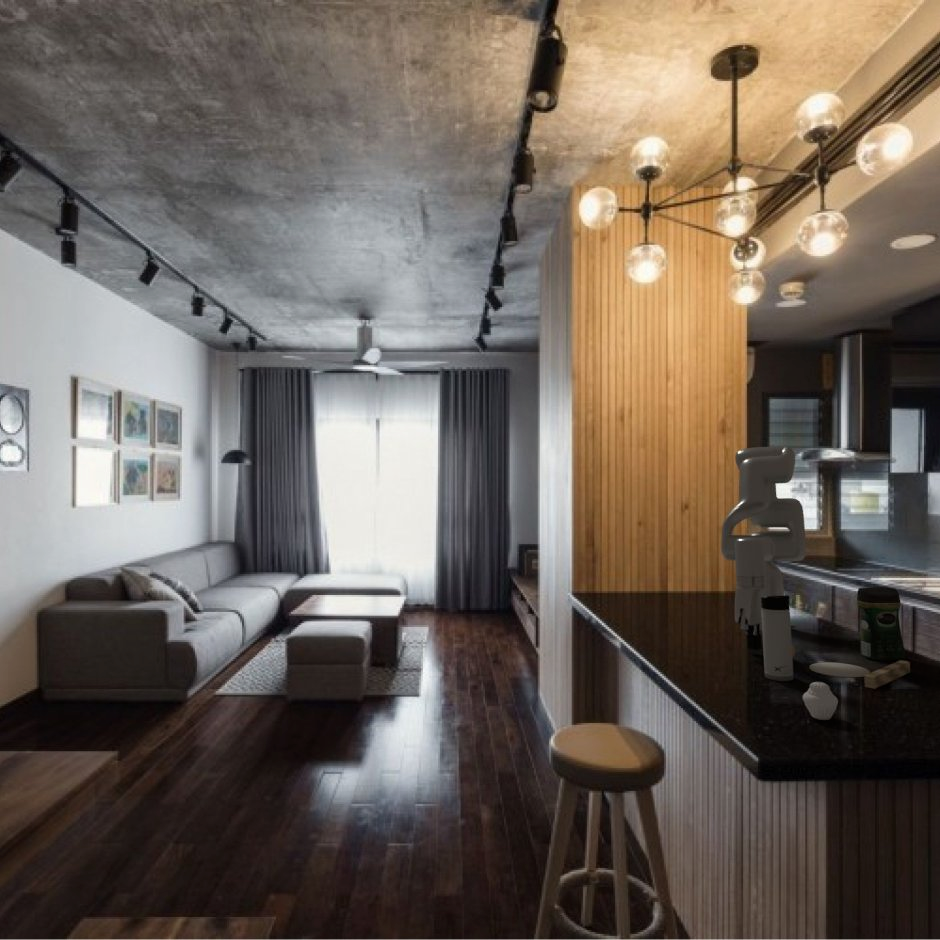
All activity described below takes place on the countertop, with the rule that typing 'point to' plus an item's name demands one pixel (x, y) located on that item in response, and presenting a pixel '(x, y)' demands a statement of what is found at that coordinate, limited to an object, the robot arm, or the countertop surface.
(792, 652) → the ball
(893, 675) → the stopper strip
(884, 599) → the coffee jar
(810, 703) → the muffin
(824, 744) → the countertop surface
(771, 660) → the travel mug
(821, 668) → the disc
